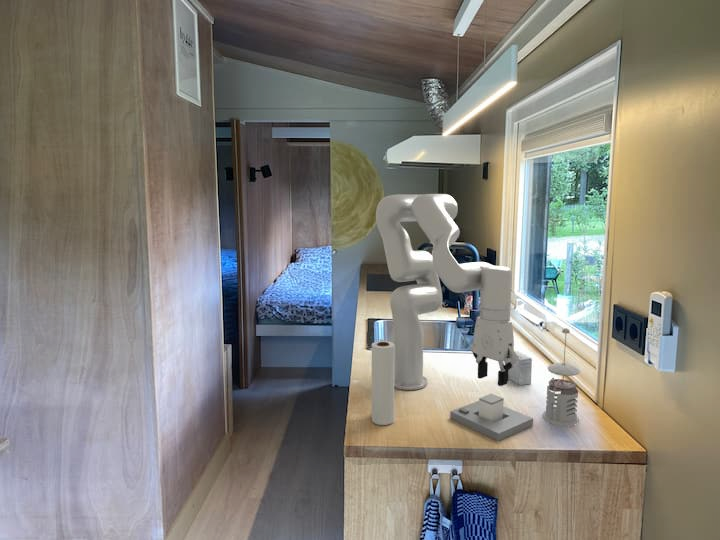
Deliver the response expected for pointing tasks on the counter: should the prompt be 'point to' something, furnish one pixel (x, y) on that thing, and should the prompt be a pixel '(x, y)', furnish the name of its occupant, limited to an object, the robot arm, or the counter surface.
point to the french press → (562, 394)
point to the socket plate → (495, 430)
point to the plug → (491, 407)
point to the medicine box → (521, 370)
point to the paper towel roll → (383, 382)
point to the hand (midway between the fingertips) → (492, 380)
